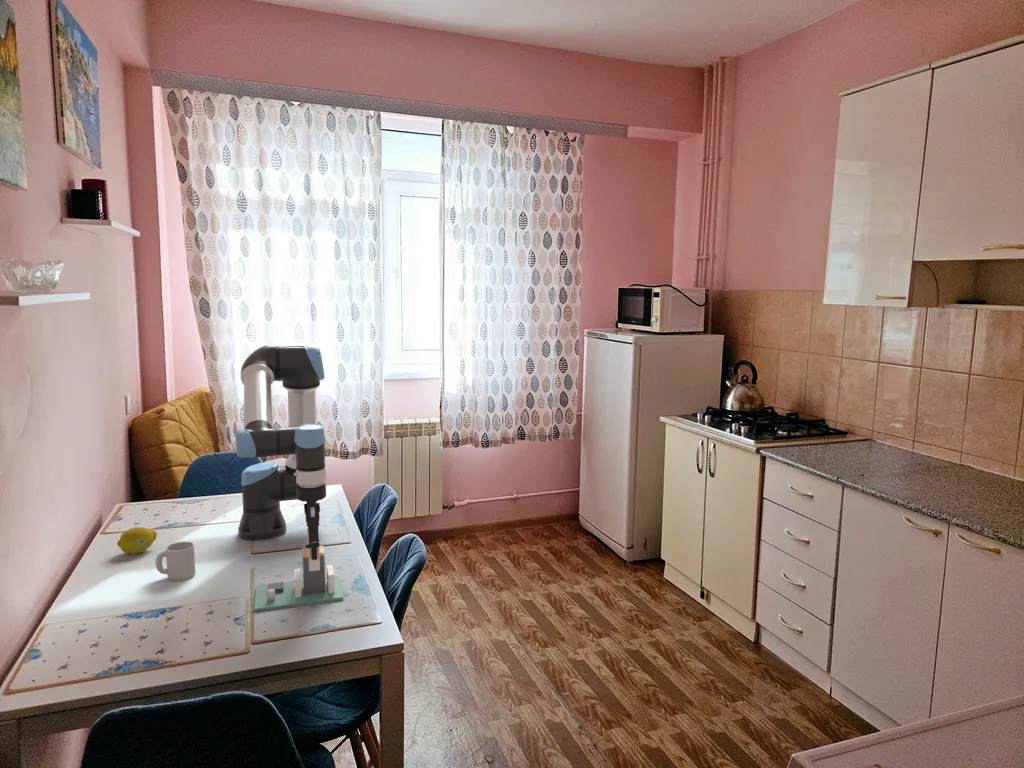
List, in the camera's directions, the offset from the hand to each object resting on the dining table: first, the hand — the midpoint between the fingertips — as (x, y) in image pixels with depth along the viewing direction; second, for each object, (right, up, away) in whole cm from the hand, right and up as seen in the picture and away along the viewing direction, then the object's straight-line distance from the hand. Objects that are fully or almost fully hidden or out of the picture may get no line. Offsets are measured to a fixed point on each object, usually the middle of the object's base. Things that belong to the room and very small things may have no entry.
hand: (313, 560), depth 178 cm
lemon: (-63, -5, +27) cm, 69 cm away
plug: (0, -8, +1) cm, 8 cm away
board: (-4, -9, 0) cm, 10 cm away
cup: (-42, -8, +10) cm, 44 cm away
